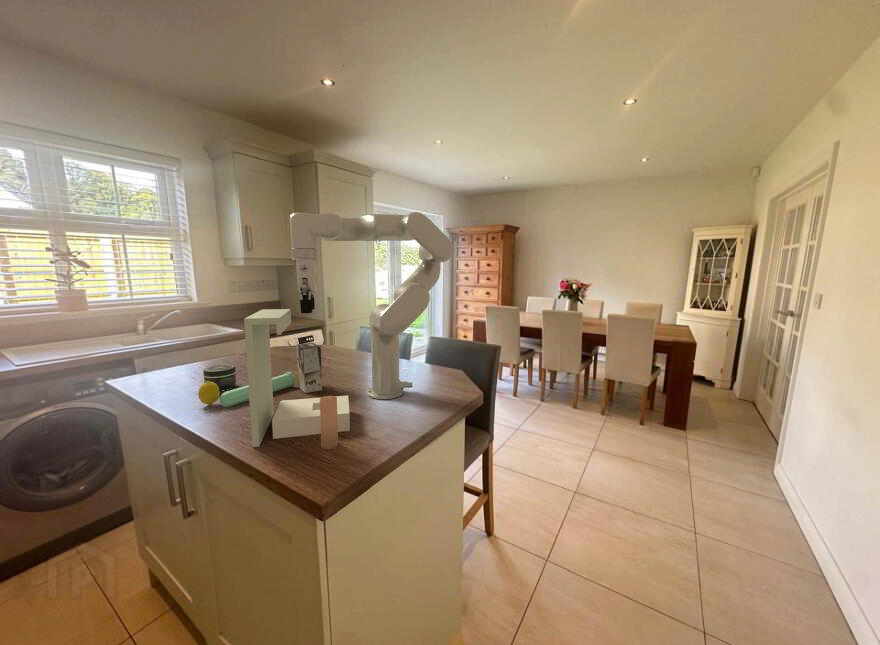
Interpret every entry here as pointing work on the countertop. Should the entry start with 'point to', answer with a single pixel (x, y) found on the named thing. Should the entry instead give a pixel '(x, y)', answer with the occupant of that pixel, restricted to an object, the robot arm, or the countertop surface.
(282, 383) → the container
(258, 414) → the grey hook bracket
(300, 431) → the socket block
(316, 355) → the coffee box
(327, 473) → the countertop surface
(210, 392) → the lemon
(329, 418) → the peg
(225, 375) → the jar
